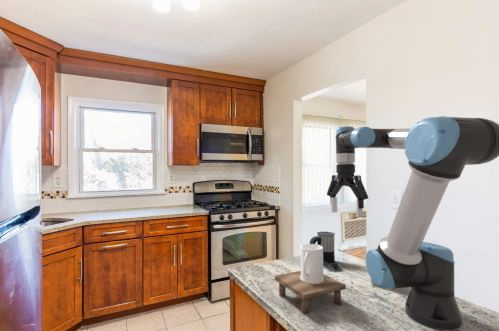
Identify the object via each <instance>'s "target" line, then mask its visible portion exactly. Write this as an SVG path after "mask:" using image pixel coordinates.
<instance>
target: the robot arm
mask: <svg viewBox="0 0 499 331" xmlns="http://www.w3.org/2000/svg"><path fill="white" fill-rule="evenodd" d="M362 148H363V149H374V148H375V149H393V150H394V149H397V150H398V149H399V150H404V154H405V157H406V158H407V160H408V163H407V164H408V166H409V167H410V169H411V172H410V176H409V178H408V181H407V184H406V186H405V189H404V191H403V194H402V198H401V200H400V201H399V205H398V207H397V208H398V209H397V211H396V214H395V216H394V219H393V221H392V224H391V227H390V229H389V233H388V235H387V236H384V237H382V238H381V239H380V241H379V243H378V246H377V248H376V249H375V248H371V249H370V250H368V251H367V252H366V253H365V266H366V269H367V270H366V271H367V272H368V276H369V277H371V278H370V280H371V279H372V281H373V282H374V283H375V284H376V285H377V286H378V287H377V288H380V289H382V290H396V289H406V288H410V291H409V292H408V296H407V298H406V301H405V306H404V308H405V309H404V310H405V314H406V315H407V317H409V318H410V319H411V320H413V321H415V322H417V323H419V324H421V325H423V326H426V327H430V328H433V329H436V330H437V329H438V330H446V331H453V330H454V331H455V330H458V329H461V328H462V327H463V317H462V316H463V315H462V313H461V310H460V308H459V305H458V303H457V300H456V297H455V296H456V295H455V262H456V261H455V260H454V253H453V251H452V250H451V249H450V248H449V247H446V246H444V245H440V244H436V243H431V242H426V241H424V240H425V237H426V236H427V234H428V230H429V229H430V225H431V224H432V222H433V219H434V217H435V215H436V213H437V211H438V208H439V206H440V204H441V202H442V199H443V198H444V195H445V192H446V191H447V189H448V186H449V183H450V182H452V181H455V180H458V179H460V177H461V175H462V173H463V172H464V170H465V166H469V165H470V166H473V165H482V164H487V163H489V162H491V161H493V160H496V159H497V158H498V157H499V124H498V123H497V122H495V121H493V120H491V119H487V118H482V117H458V116H457V117H456V116H455V117H454V116H445V115H441V116H436V117H435V116H433V117H432V116H431V117H426V118H423V119H421V120H419V121H417V122H415V124H414V125H412V127H410V128H371V127H370V126H358V127H356V128H355V127H354V126H351V125H346V126H338V127H337V128H336V129H335V157H336V158H335V163H336V166H335V167H336V169H335V170H336V171H335V173H336V174H332V175H331V180H330V184H329V186H328V189H327V192H326V196H329V197H330V205H331V206H330V207H331V208H330V209H331V213H338V197H337V195H338V193H339V192H340V190H341V189H342V187H344V186H345V187H348V188H350V190H351V191H352V193H353V194H354V196H355V198H356V200H355V211H356V212H355V214H356V216H355V217H356V218H363V210H364V208H365V206H364V204H365V203H364V202H365V200H368V199H369V196H368V193H367V191H366V189H365V188H366V187H365V186H364V183H363V181H362V176H361V175H358V174H355V173H356V164H355V163H356V149H362Z"/></svg>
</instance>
